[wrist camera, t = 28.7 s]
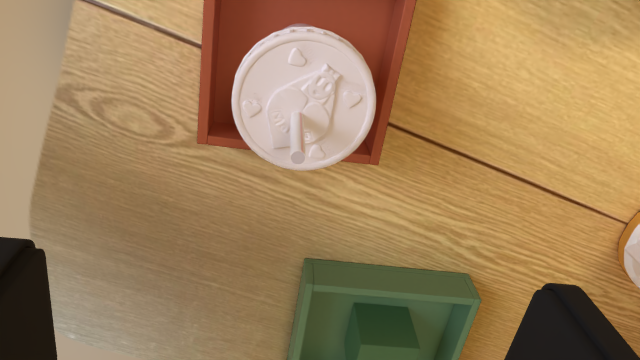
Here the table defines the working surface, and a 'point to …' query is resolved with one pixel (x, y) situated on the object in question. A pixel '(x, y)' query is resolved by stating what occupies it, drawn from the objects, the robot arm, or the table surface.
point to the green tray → (382, 289)
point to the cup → (631, 250)
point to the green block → (381, 333)
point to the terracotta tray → (274, 15)
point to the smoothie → (303, 98)
